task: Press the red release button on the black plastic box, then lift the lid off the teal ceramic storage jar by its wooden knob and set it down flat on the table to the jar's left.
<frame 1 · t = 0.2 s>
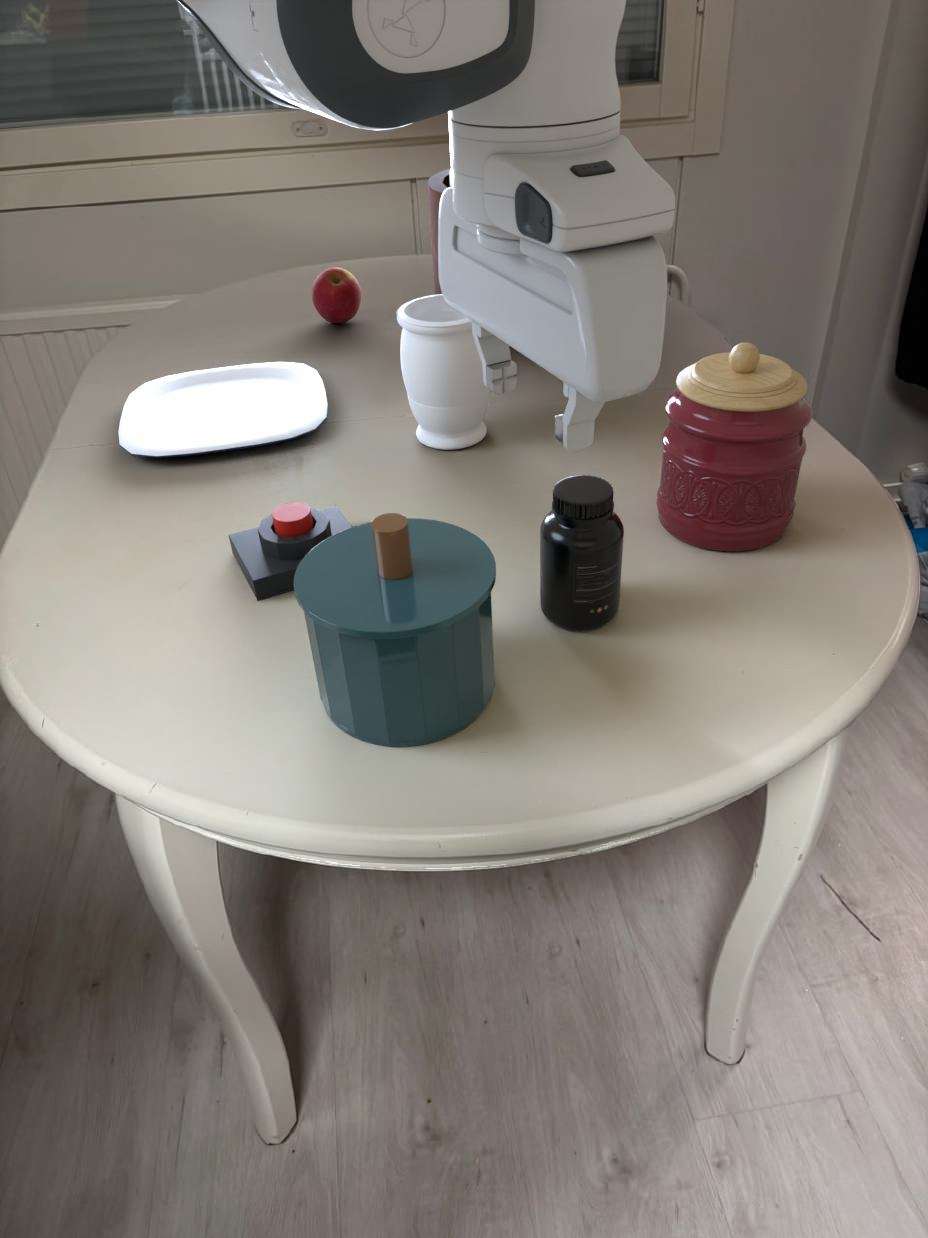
hand: (534, 415, 58), 23 cm above the table, tool pointing down, fingers open, 8 cm apart
jar lid: (395, 576, 67), point 10 cm above the table, touching storage jar
wooden bucket: (520, 313, 142), on the table
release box: (300, 560, 89), on the table
supplement bottle: (579, 611, 80), on the table
apple: (340, 322, 143), on the table
release button: (292, 519, 86), point 5 cm above the table, slide at 0.2 cm
kitchen canister: (722, 520, 91), on the table
jar: (451, 436, 109), on the table
plate: (227, 416, 117), on the table
storage jar: (408, 686, 73), on the table
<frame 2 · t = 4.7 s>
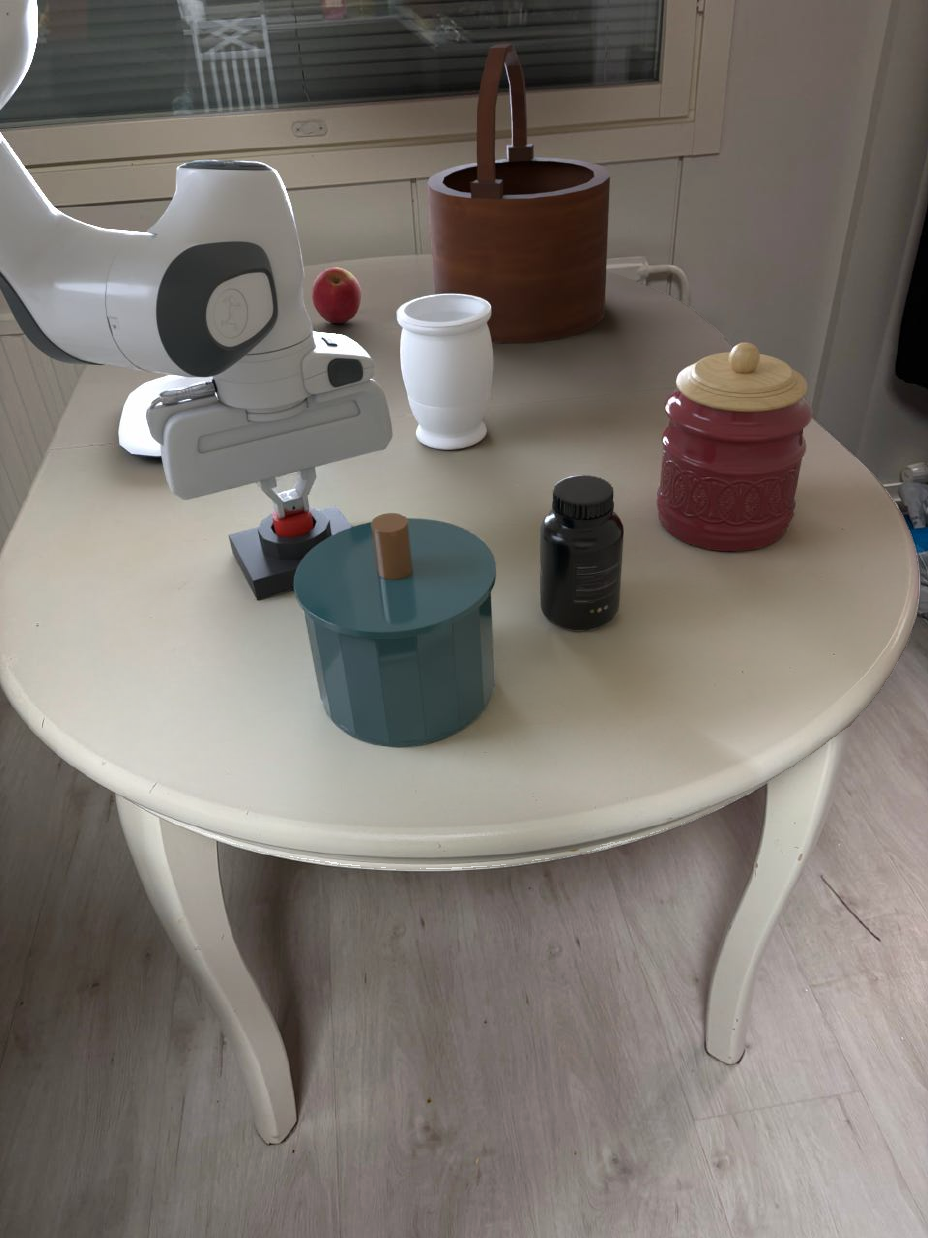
hand: (292, 512, 86), 5 cm above the table, tool pointing down, fingers closed, pressing on release button
release button: (293, 520, 86), point 4 cm above the table, slide at 0.0 cm, touching gripper
everything else where it was.
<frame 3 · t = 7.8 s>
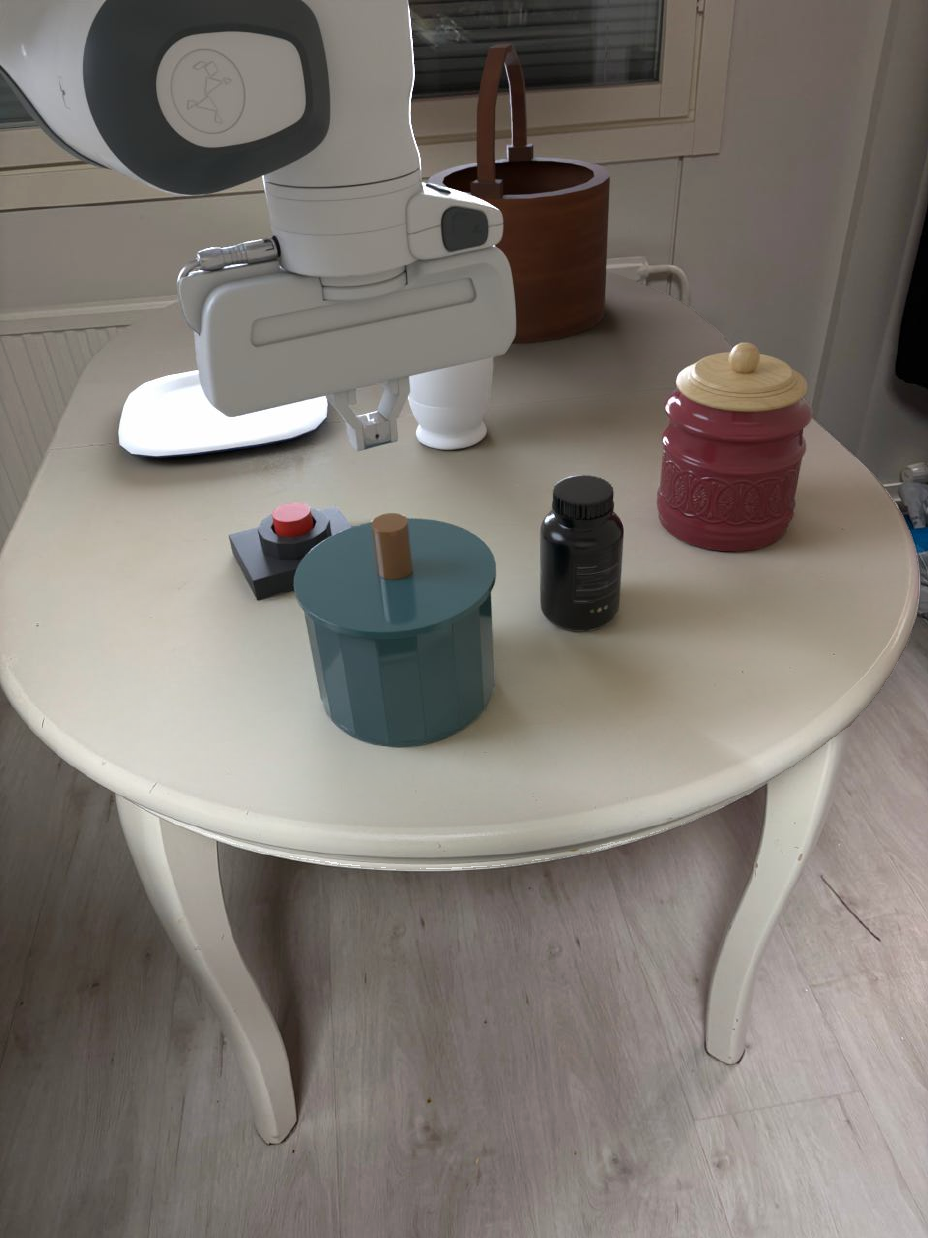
hand: (373, 443, 62), 21 cm above the table, tool pointing down, fingers closed
release button: (292, 519, 86), point 5 cm above the table, slide at 0.2 cm
everything else where it was.
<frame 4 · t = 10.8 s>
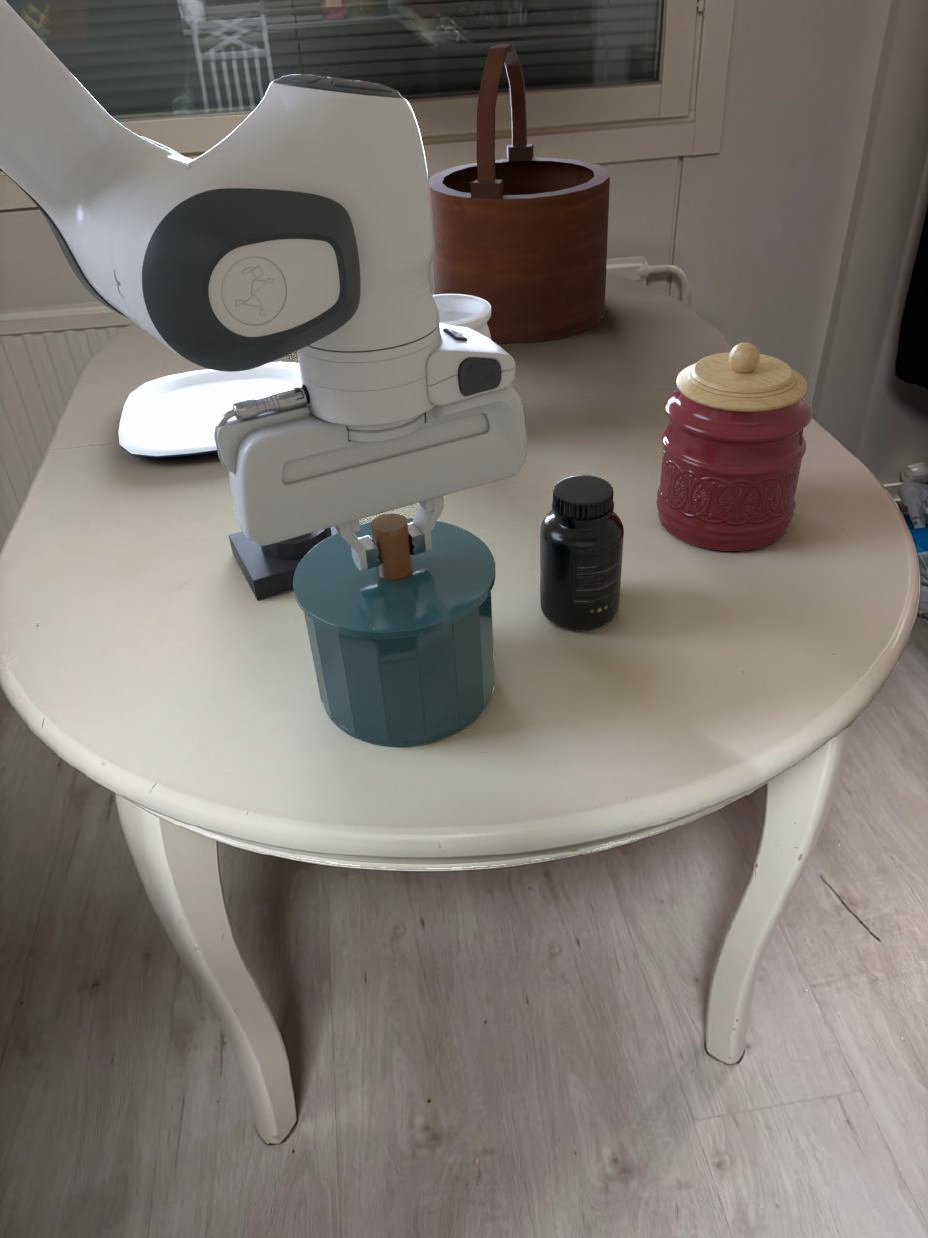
hand: (393, 557, 66), 12 cm above the table, tool pointing down, fingers closed on jar lid, 2 cm apart
jar lid: (395, 576, 67), point 11 cm above the table, touching gripper, storage jar
everything else where it was.
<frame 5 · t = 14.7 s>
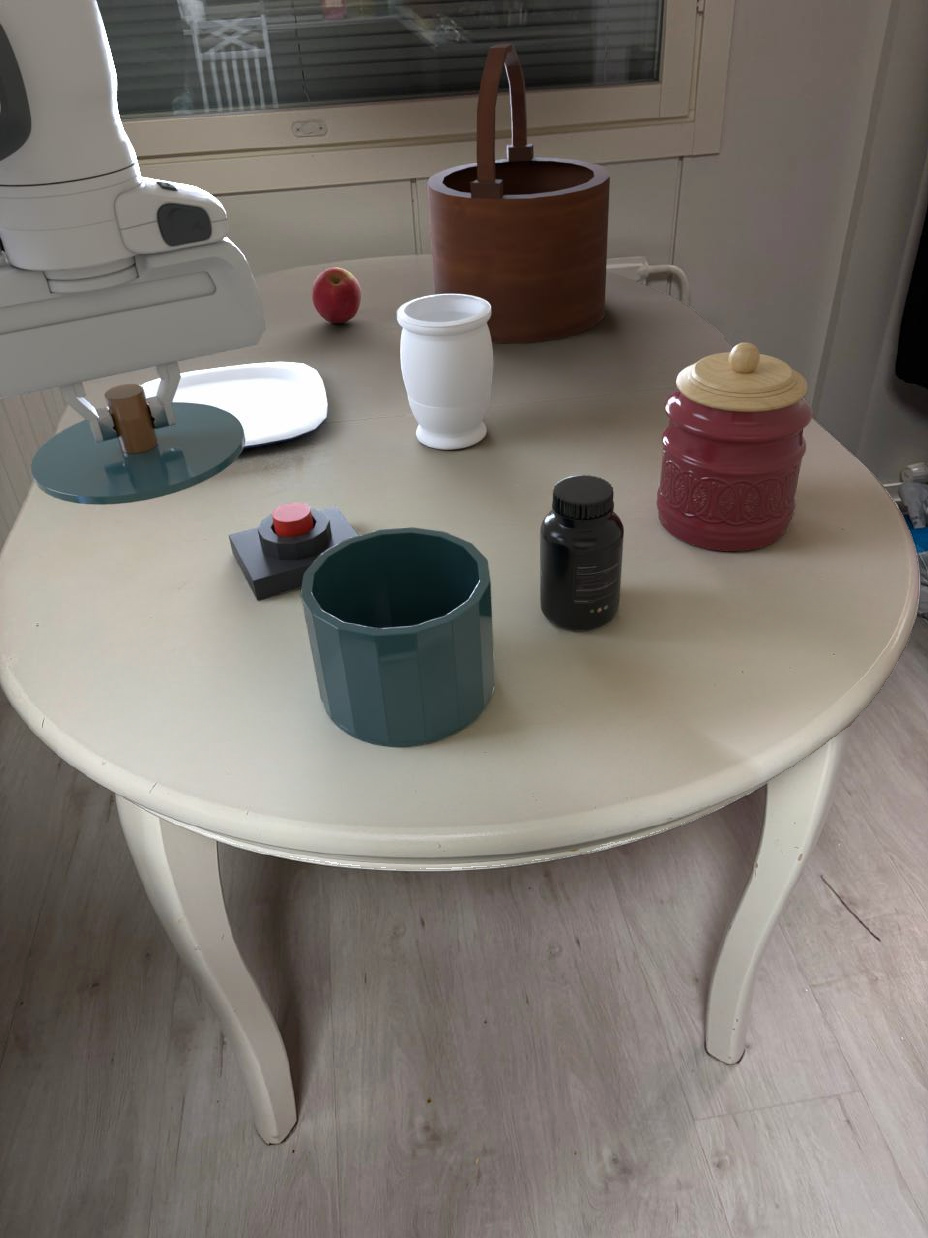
hand: (135, 430, 64), 21 cm above the table, tool pointing down, fingers closed on jar lid, 2 cm apart
jar lid: (141, 452, 65), point 19 cm above the table, touching gripper
everything else where it was.
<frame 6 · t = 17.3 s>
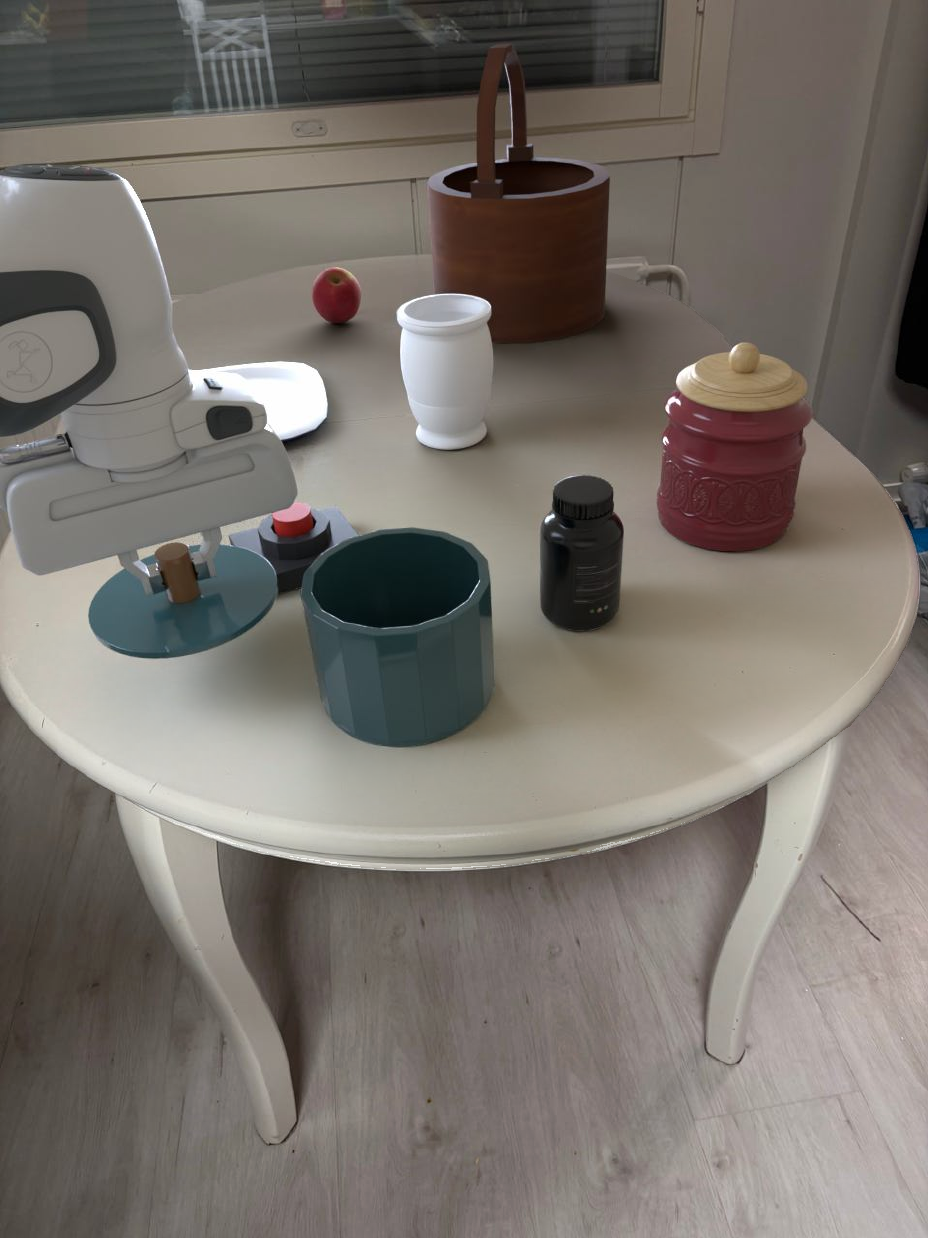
hand: (181, 582, 72), 8 cm above the table, tool pointing down, fingers closed on jar lid, 2 cm apart
jar lid: (185, 600, 73), point 6 cm above the table, touching gripper
everything else where it was.
when the fingers open (2 cm above the table, at t = 18.9 s): jar lid stays where it is, point 1 cm above the table.
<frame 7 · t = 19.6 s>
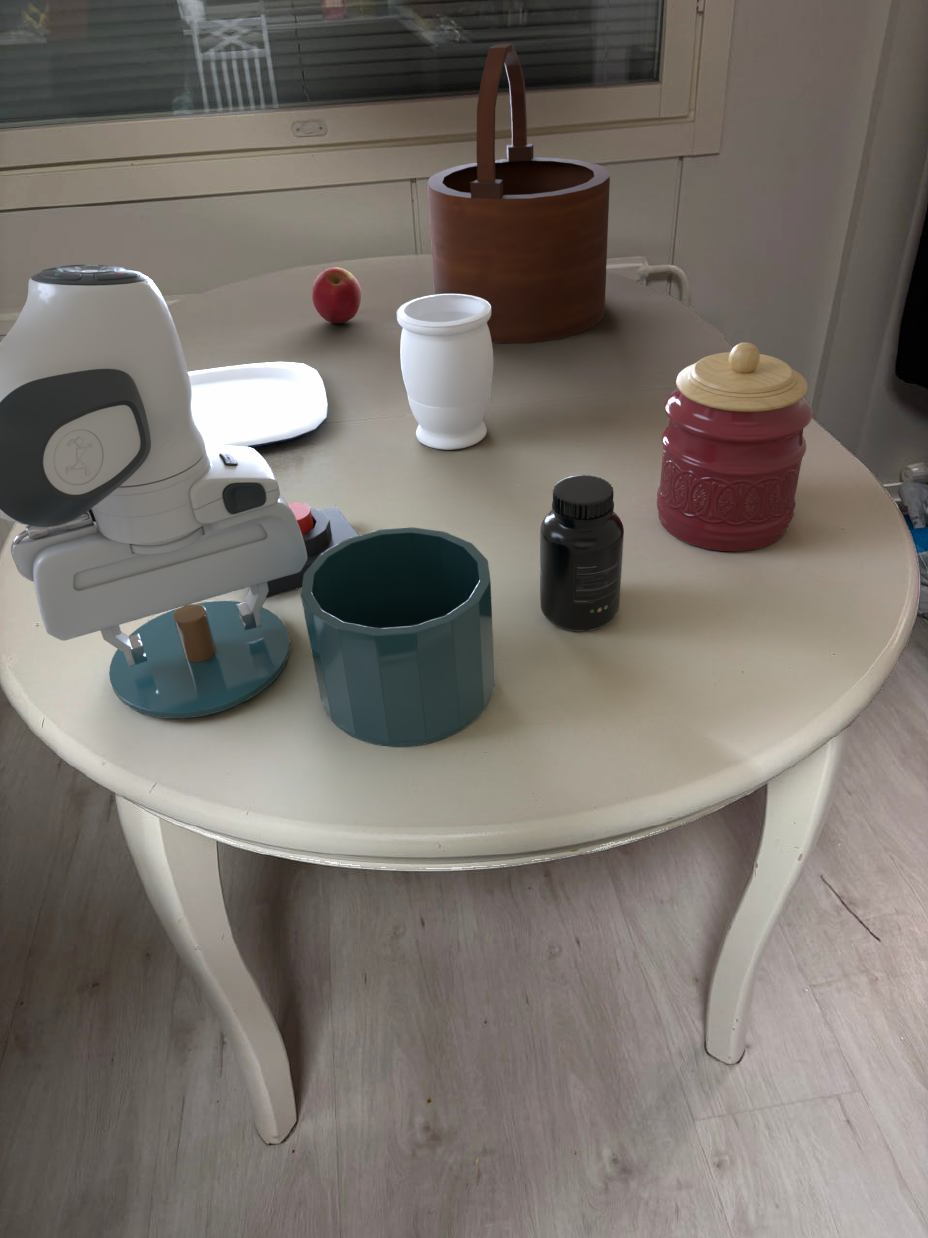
hand: (195, 642, 76), 2 cm above the table, tool pointing down, fingers open, 8 cm apart
jar lid: (202, 658, 77), point 1 cm above the table
everything else where it was.
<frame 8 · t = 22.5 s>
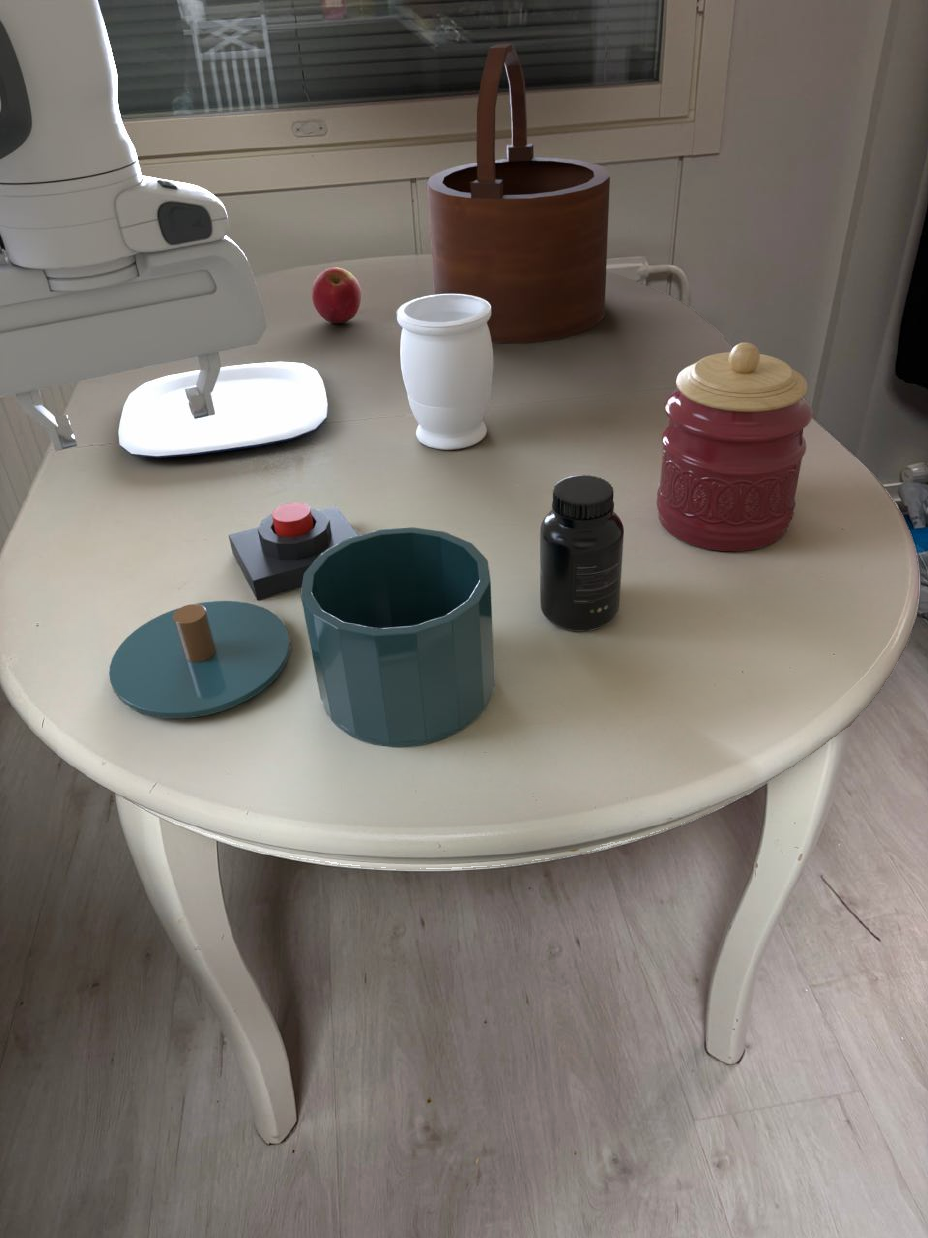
hand: (136, 429, 64), 21 cm above the table, tool pointing down, fingers open, 8 cm apart
nothing on the table moved.
at the end: release button pushed in 1.0 cm at the most during the clip, back to 0.2 cm at the end; jar lid inside the target area (0.1 cm from its centre), point 0.6 cm above the table; jar lid tilted 0° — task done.
